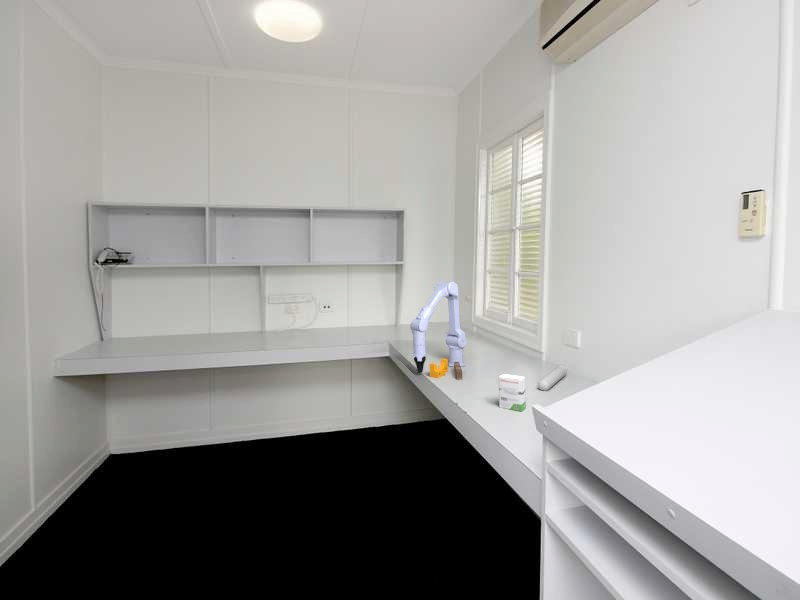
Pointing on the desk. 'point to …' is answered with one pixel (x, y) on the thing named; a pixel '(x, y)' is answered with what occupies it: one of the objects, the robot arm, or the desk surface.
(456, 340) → the robot arm
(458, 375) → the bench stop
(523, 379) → the ink box
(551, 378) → the tube
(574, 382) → the desk surface
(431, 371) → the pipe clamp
